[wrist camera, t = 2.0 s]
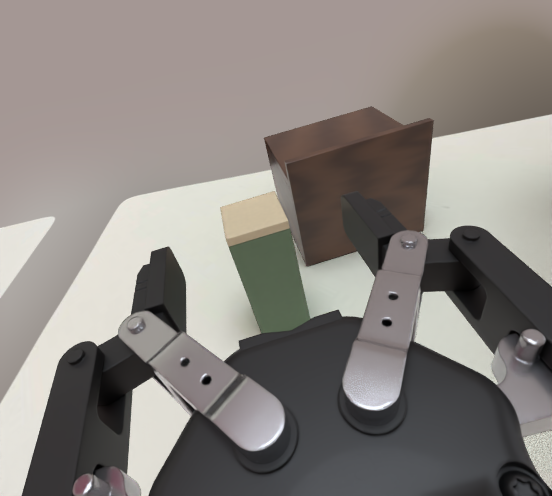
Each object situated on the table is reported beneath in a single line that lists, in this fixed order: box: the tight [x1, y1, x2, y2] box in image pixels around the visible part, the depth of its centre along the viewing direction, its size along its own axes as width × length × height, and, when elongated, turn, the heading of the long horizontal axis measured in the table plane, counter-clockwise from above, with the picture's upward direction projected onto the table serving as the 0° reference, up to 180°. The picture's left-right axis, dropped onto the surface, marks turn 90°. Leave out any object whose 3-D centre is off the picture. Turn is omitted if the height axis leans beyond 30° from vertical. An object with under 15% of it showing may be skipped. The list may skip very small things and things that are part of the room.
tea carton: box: [220, 191, 310, 333], centre depth 32 cm, size 5×5×13 cm
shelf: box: [264, 107, 433, 266], centre depth 42 cm, size 15×14×14 cm
